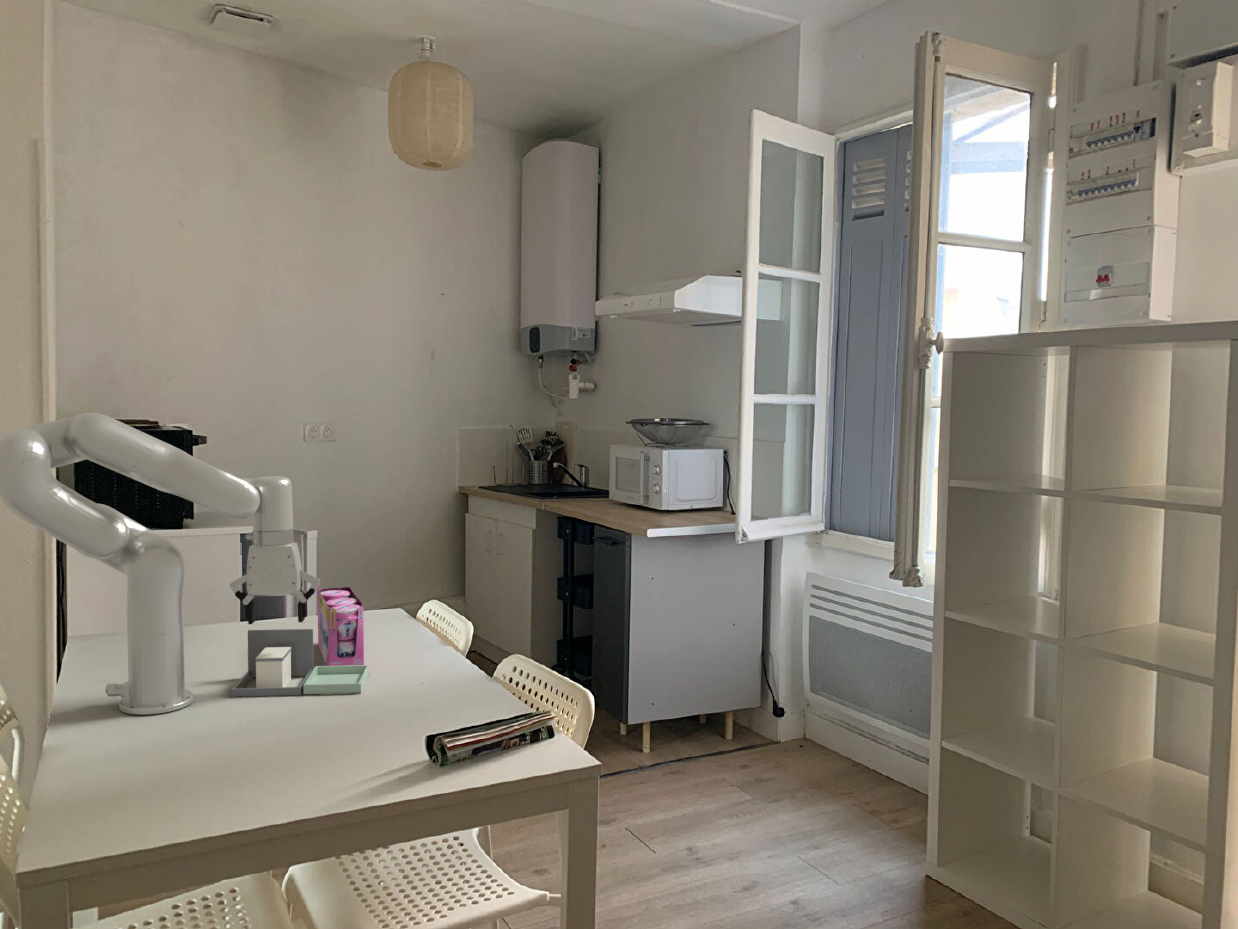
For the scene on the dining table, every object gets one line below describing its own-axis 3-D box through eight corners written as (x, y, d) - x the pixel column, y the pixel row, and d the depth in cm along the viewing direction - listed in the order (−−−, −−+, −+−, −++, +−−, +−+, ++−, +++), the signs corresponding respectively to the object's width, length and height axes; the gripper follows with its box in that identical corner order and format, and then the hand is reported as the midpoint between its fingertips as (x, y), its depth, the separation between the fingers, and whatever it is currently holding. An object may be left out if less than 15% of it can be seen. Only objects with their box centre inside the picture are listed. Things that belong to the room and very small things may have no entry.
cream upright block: (255, 693, 183) (255, 658, 182) (265, 680, 191) (265, 647, 190) (282, 692, 183) (282, 657, 183) (291, 680, 191) (291, 646, 191)
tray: (303, 695, 182) (303, 685, 181) (315, 675, 194) (315, 666, 194) (360, 693, 183) (360, 683, 183) (369, 674, 196) (369, 665, 196)
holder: (231, 697, 180) (230, 646, 179) (248, 677, 193) (248, 630, 192) (300, 695, 181) (300, 645, 181) (313, 675, 194) (313, 628, 194)
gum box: (366, 668, 200) (366, 607, 199) (328, 672, 197) (327, 609, 196) (351, 641, 222) (351, 586, 221) (317, 644, 219) (316, 588, 218)
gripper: (223, 542, 180) (226, 628, 182) (314, 540, 183) (317, 624, 184) (233, 536, 188) (237, 619, 189) (321, 534, 190) (324, 615, 191)
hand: (276, 621), depth 187 cm, fingers open, 9 cm apart
